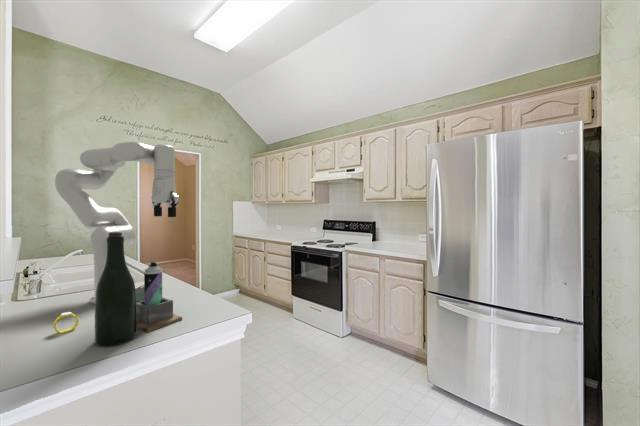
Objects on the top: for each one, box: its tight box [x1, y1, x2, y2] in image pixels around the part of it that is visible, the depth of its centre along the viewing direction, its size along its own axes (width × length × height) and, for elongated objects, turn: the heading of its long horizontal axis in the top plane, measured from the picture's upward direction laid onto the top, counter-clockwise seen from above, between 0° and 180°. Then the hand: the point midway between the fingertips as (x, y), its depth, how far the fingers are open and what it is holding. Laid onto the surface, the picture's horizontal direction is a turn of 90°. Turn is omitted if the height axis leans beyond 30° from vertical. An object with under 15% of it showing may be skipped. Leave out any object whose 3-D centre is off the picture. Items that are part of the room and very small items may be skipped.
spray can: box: [143, 261, 163, 306], centre depth 100 cm, size 6×6×20 cm
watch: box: [52, 311, 79, 334], centre depth 92 cm, size 6×3×6 cm, turn 141°
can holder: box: [136, 296, 183, 333], centre depth 100 cm, size 14×12×7 cm
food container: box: [135, 285, 145, 303], centre depth 111 cm, size 12×6×10 cm, turn 168°
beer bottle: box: [94, 232, 138, 347], centre depth 87 cm, size 10×10×33 cm
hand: (164, 216), depth 118 cm, fingers open, 9 cm apart
